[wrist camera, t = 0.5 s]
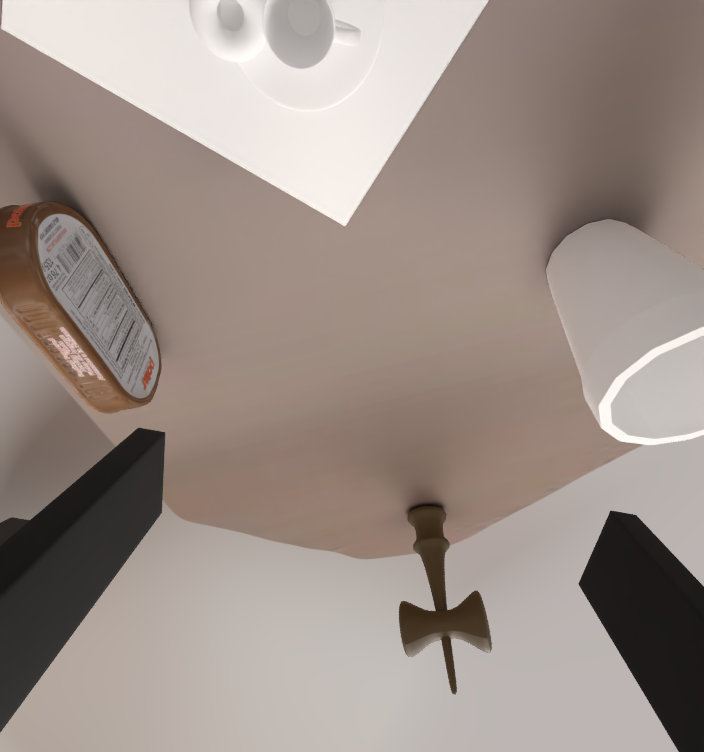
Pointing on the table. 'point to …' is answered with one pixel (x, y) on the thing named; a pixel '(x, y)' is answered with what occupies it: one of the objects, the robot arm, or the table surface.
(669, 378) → the foam cup
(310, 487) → the table surface
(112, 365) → the tin
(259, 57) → the teacup and saucer
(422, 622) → the kendama
